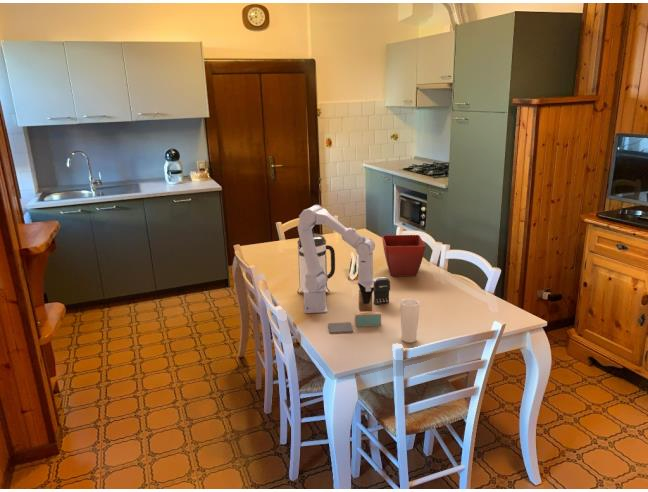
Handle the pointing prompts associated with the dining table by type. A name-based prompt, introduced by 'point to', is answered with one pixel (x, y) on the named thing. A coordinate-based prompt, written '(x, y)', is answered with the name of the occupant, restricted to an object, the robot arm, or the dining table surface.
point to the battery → (381, 290)
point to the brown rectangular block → (363, 306)
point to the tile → (368, 319)
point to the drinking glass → (409, 319)
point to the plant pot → (403, 254)
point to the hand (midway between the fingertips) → (365, 301)
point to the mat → (340, 327)
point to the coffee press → (321, 252)
